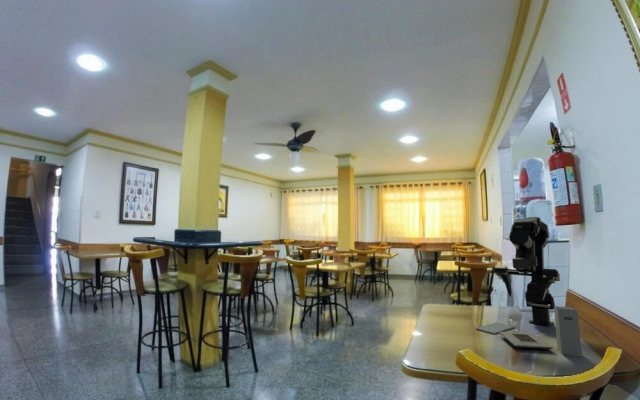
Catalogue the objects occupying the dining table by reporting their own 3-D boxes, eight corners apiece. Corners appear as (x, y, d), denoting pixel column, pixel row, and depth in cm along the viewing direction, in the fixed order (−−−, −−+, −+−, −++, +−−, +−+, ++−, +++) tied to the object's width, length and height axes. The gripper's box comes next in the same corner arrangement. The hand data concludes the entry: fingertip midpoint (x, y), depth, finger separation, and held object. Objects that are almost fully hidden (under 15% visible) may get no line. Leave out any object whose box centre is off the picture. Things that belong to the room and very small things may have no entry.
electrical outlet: (554, 354, 93) (553, 345, 93) (515, 351, 95) (514, 343, 95) (533, 339, 106) (532, 332, 106) (499, 337, 108) (499, 330, 108)
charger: (557, 349, 95) (553, 305, 97) (577, 351, 93) (572, 307, 95) (561, 354, 92) (557, 308, 93) (582, 356, 90) (577, 310, 91)
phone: (496, 325, 123) (496, 322, 123) (515, 329, 117) (514, 326, 117) (475, 331, 116) (475, 328, 116) (494, 336, 110) (494, 333, 110)
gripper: (489, 246, 111) (488, 290, 106) (554, 247, 99) (556, 297, 93) (498, 255, 119) (497, 296, 113) (559, 257, 106) (561, 303, 101)
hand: (525, 298), depth 105 cm, fingers open, 9 cm apart
